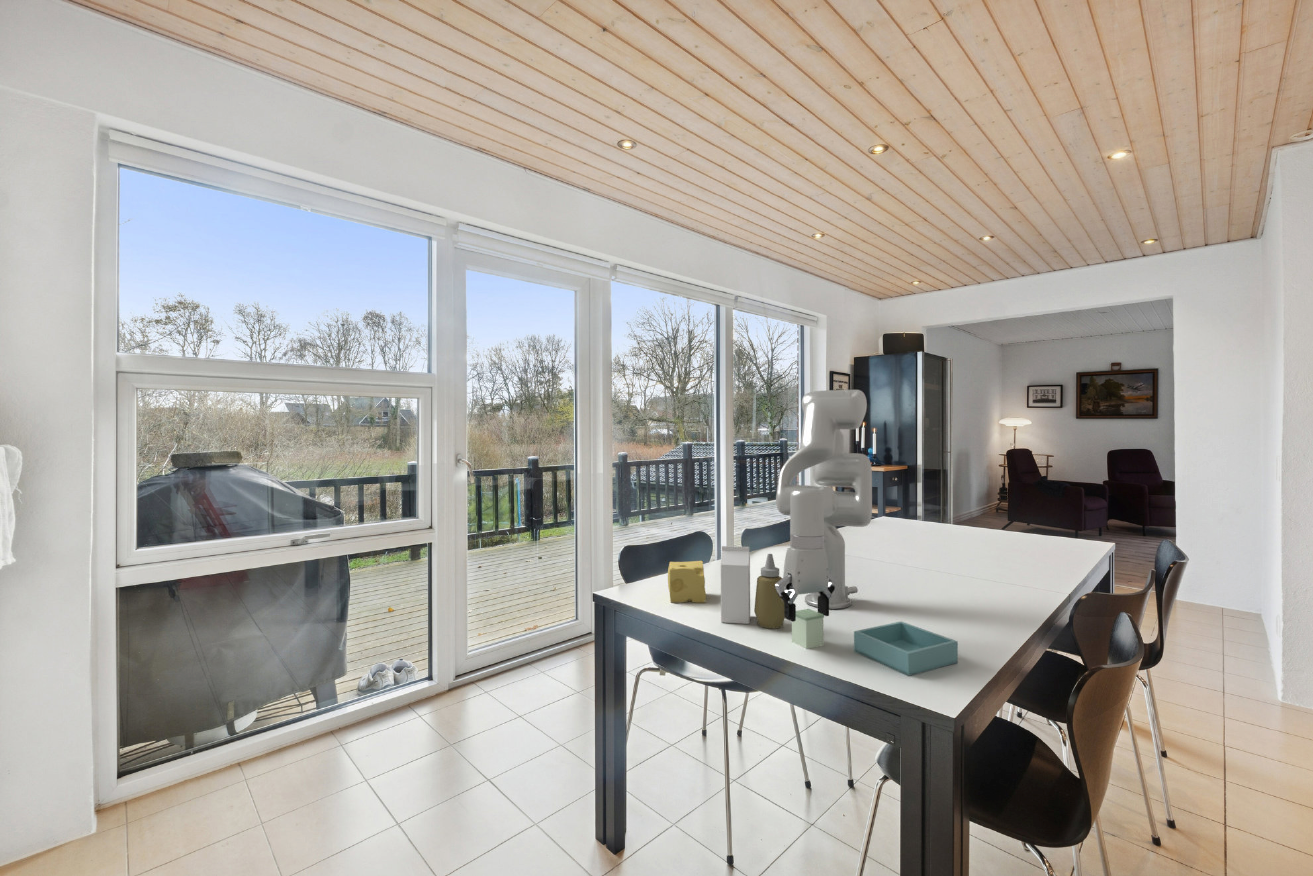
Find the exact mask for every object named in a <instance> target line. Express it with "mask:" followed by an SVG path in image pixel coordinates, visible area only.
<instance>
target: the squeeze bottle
mask: <svg viewBox="0 0 1313 876" xmlns="http://www.w3.org/2000/svg"><path fill="white" fill-rule="evenodd" d="M782 578H783V577H781V576H780V568H779V567H776V565H775V560H774V556H773V554H772V553H768V554H767V556H766V560H765V566H762V567H760V576H758V577H757V579H756V585H755V586H756V589H755V600H754V610H753V611H754V615H755V618H756V621H757V624H758V625H759V626H760V627H761V628H764V629H779V628H781V627H783V625H784V622H785V620H786V619H785V615H784V601H782V599H781V598H780V596H779V595H778V592H777V590H776V588H775V584H776V583H777V582H778V581H780V580H781V579H782Z"/></svg>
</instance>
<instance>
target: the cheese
mask: <svg viewBox="0 0 1313 876" xmlns="http://www.w3.org/2000/svg"><path fill="white" fill-rule="evenodd" d="M667 569H668V570H667V584H668V585H667V587H668V591H669V599H670V600H669V601H670V603H673V604H675V603H687V602H691V603H693V604H694V603H695V604H697V603H698V604H701V603H702V604H703V603H704V604H705V603H706V599H707V593H706V587H705V586H706V579H705V570H704V569H705V568H704V562H703V561H702V560H694V561H669V564H668V568H667Z"/></svg>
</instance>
